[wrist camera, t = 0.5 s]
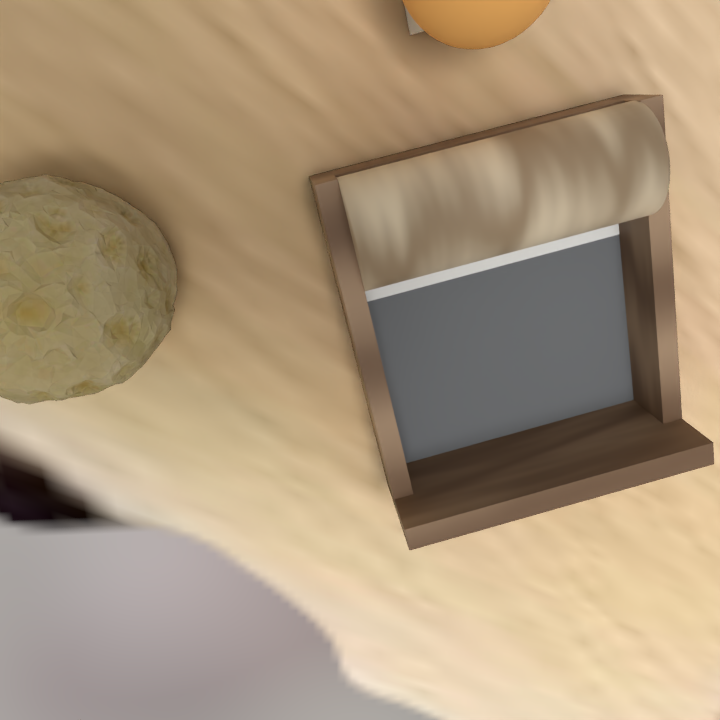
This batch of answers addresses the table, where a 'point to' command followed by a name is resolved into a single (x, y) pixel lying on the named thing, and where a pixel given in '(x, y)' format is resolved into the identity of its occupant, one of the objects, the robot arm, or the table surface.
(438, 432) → the mat
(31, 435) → the table surface
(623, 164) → the brown wooden tray
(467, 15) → the ball
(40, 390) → the decorative item
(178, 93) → the table surface
